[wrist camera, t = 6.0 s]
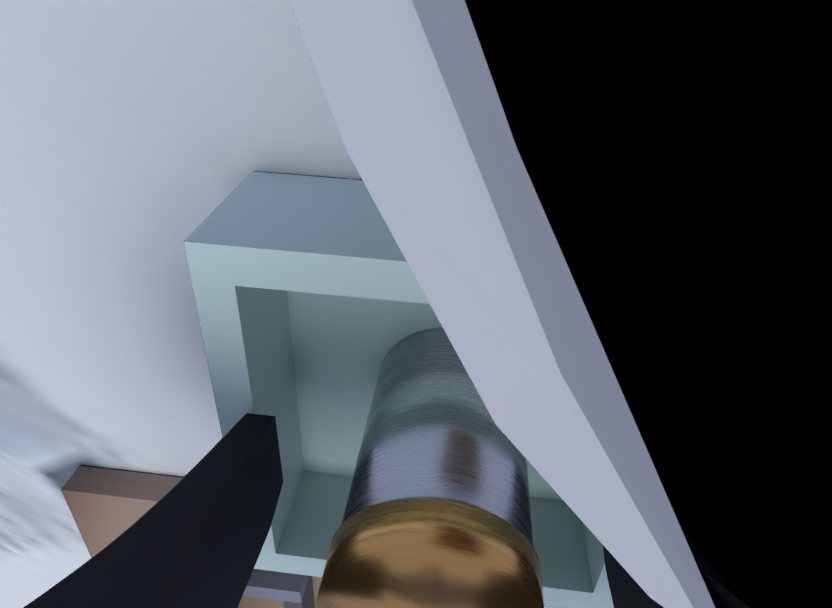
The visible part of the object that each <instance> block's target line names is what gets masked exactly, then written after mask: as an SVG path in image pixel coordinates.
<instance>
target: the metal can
mask: <svg viewBox="0 0 832 608" xmlns="http://www.w3.org/2000/svg"><path fill="white" fill-rule="evenodd" d="M316 608H544V600H543V588H542V576H541V564H540V561H539V557H538V554H537V552H536V550H535V549H534V547H533V536H532V523H531V510H530V496H529V483H528V470H527V459H526V458H525V457H524V456H523V454H522V453H521V452H520V451H519V450H518V449H517V448H516V447H515V446H514V444H513V443H512V442H511V441H510V440H509V439H508V438H507V437H506V435H505V434H504V433H503V432H502V431H501V430H500V429H499V428H498V426H497V425H496V424H495V422H494V421H493V419H492V417H491V415H490V413H489V411H488V410H487V408H486V406H485V404H484V402H483V400H482V399H481V397H480V395H479V393H478V391H477V389H476V388H475V386H474V384H473V382H472V380H471V378H470V377H469V375H468V373H467V371H466V369H465V367H464V366H463V364H462V362H461V360H460V358H459V356H458V355H457V353H456V351H455V349H454V347H453V345H452V344H451V342H450V340H449V338H448V336H447V334H446V333H445V331H444V329H443V327H439V328H431V329H425V330H422V331H418V332H415V333H413V334H411V335H409V336H407V337H405V338H403V339H402V340H400V341H399V342H398V343H396V344H395V345H394V346H393V347H392V348H391V349H390V350H389V351H388V353H387V354H386V356H385V357H384V359H383V361H382V364H381V367H380V371H379V374H378V379H377V383H376V387H375V391H374V395H373V399H372V403H371V407H370V411H369V415H368V419H367V423H366V427H365V431H364V435H363V439H362V443H361V447H360V451H359V455H358V459H357V463H356V467H355V471H354V475H353V479H352V483H351V487H350V491H349V495H348V499H347V503H346V507H345V511H344V515H343V519H342V523H341V526H340V527H339V528H338V529H337V531H336V532H335V534H334V536H333V538H332V541H331V545H330V548H329V552H328V556H327V560H326V564H325V568H324V572H323V576H322V579H321V583H320V587H319V591H318V595H317V599H316Z"/></svg>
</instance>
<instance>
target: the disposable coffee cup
mask: <svg viewBox="0 0 832 608" xmlns="http://www.w3.org/2000/svg"><path fill="white" fill-rule="evenodd" d="M287 1H288V3H289V6H290V9H291V11H292V14H293V16H294V19H295V22H296V24H297V27H298V29H299V32H300V34H301V37H302V40H303V42H304V45H305V47H306V50H307V52H308V55H309V58H310V60H311V63H312V65H313V68H314V70H315V73H316V76H317V78H318V81H319V83H320V86H321V89H322V91H323V94H324V96H325V99H326V101H327V104H328V107H329V109H330V112H331V114H332V117H333V119H334V122H335V125H336V127H337V130H338V132H339V135H340V137H341V140H342V143H343V145H344V147H345V149H346V151H347V153H348V154H349V156H350V158H351V160H352V162H353V164H354V166H355V167H356V169H357V171H358V173H359V175H360V177H361V178H362V180H363V182H364V184H365V186H366V188H367V189H368V191H369V193H370V195H371V197H372V199H373V200H374V202H375V204H376V206H377V208H378V210H379V211H380V213H381V215H382V217H383V219H384V221H385V222H386V224H387V226H388V228H389V230H390V232H391V233H392V235H393V237H394V239H395V241H396V243H397V244H398V246H399V248H400V250H401V252H402V254H403V255H404V257H405V259H406V261H407V263H408V265H409V266H410V268H411V270H412V272H413V274H414V276H415V277H416V279H417V281H418V283H419V285H420V287H421V288H422V290H423V292H424V294H425V296H426V298H427V299H428V301H429V303H430V305H431V307H432V309H433V311H434V312H435V314H436V316H437V318H438V320H439V322H440V323H441V325H442V327H443V329H444V331H445V333H446V334H447V336H448V338H449V340H450V342H451V344H452V345H453V347H454V349H455V351H456V353H457V355H458V356H459V358H460V360H461V362H462V364H463V366H464V367H465V369H466V371H467V373H468V375H469V377H470V378H471V380H472V382H473V384H474V386H475V388H476V389H477V391H478V393H479V395H480V397H481V399H482V400H483V402H484V404H485V406H486V408H487V410H488V411H489V413H490V415H491V417H492V419H493V421H494V422H495V424H496V425H497V426H498V428H499V429H500V430H501V431H502V432H503V433H504V434H505V435H506V437H507V438H508V439H509V440H510V441H511V442H512V443H513V444H514V446H515V447H516V448H517V449H518V450H519V451H520V452H521V453H522V454H523V456H524V457H525V458H526V459H527V460H528V461H529V462H530V463H531V465H532V466H533V467H534V468H535V469H536V470H537V471H538V472H539V474H540V475H541V476H542V477H543V478H544V479H545V480H546V481H547V483H548V484H549V485H550V486H551V487H552V488H553V489H554V490H555V492H556V493H557V494H558V495H559V496H560V497H561V498H562V499H563V501H564V502H565V503H566V504H567V505H568V506H569V507H570V508H571V509H572V511H573V512H574V513H575V514H576V515H577V516H578V517H579V518H580V520H581V521H582V522H583V523H584V524H585V525H586V526H587V527H588V529H589V530H590V531H591V532H592V533H593V534H594V535H595V536H596V538H597V539H598V540H599V541H600V542H601V543H602V544H603V545H604V547H605V548H606V549H607V550H608V551H609V552H610V553H611V554H612V556H613V557H614V558H615V559H616V560H617V561H618V562H619V563H620V564H621V566H622V567H623V568H624V569H625V570H626V571H627V572H628V573H629V575H630V576H631V577H632V578H633V579H634V580H635V581H636V582H637V584H638V585H639V586H640V587H641V588H642V589H643V590H644V591H645V593H646V594H647V595H648V596H649V597H650V598H651V599H653V600H654V601H656V602H657V603H658V604H660V605H661V606H662V607H664V608H832V0H287Z"/></svg>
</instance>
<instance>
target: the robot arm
mask: <svg viewBox="0 0 832 608" xmlns="http://www.w3.org/2000/svg"><path fill="white" fill-rule="evenodd" d="M282 485H283V474H282V466H281V458H280V450H279V442H278V434H277V426H276V418H275V416H269V415H260V414H251V413H247V414H245V415H244V416H243V417H242V418H241V419H240V420H239V421H238V422H237V423H236V424H235V425H234V426H233V427H232V428H231V429H230V431H229V432H228V433H227V434H226V435H225V436H224V437H223V438H222V439H221V440H220V441H219V442H218V443H217V444H216V445H215V446H214V447H213V448H212V449H211V451H210V452H209V453H208V454H207V455H206V456H205V457H204V458H203V459H202V460H201V461H200V462H199V463H198V464H197V465H196V466H195V467H194V468H193V469H192V470H191V471H190V472H189V473H188V474H187V475H186V476H185V477H184V478H183V479H181V480H180V481H179V482H178V483H177V484H176V485H175V486H174V487H173V488H172V489H171V490H170V491H169V492H168V493H167V494H166V495H165V496H164V497H163V498H162V499H160V500H159V501H158V502H157V503H156V504H155V505H154V506H153V507H152V508H150V509H149V510H148V511H147V512H146V513H145V514H144V515H143V516H142V517H140V518H139V519H138V520H137V521H136V522H135V523H134V524H133V525H131V526H130V527H129V528H128V529H127V530H126V531H124V532H123V533H122V534H121V535H120V536H118V537H117V538H116V539H115V540H114V541H112V542H111V543H110V544H109V545H107V546H106V547H105V548H104V549H103V550H101V551H100V552H99V553H97V554H96V555H95V556H94V557H92V558H91V559H90V560H88V561H87V562H86V563H85V564H83V565H82V566H81V567H79V568H78V569H77V570H75V571H74V572H73V573H71V574H70V575H69V576H67V577H66V578H64V579H63V580H62V581H60V582H59V583H58V584H56V585H55V586H53V587H52V588H51V589H49V590H48V591H47V592H45V593H44V594H42V595H41V596H39V597H38V598H37V599H35V600H34V601H32V602H31V603H29V604H28V605H26V606H25V607H24V608H238V605H239V603H240V601H241V598H242V596H243V593H244V591H245V588H246V586H247V584H248V581H249V579H250V576H251V574H252V572H253V569H254V567H255V564H256V562H257V559H258V557H259V554H260V552H261V550H262V547H263V545H264V542H265V540H266V537H267V535H268V532H269V530H270V527H271V524H272V520H273V517H274V513H275V510H276V507H277V503H278V499H279V496H280V492H281V488H282ZM603 551H604V560H605V569H606V573H607V578H608V583H609V587H610V592H611V597H612V601H613V606H614V608H664V607H662V606H661V605H660V604H658V603H657V602H656V601H654V600H653V599H651V598H650V597H649V596H648V595H647V594H646V593H645V591H644V590H643V589H642V588H641V587H640V586H639V585H638V584H637V582H636V581H635V580H634V579H633V578H632V577H631V576H630V575H629V573H628V572H627V571H626V570H625V569H624V568H623V567H622V566H621V564H620V563H619V562H618V561H617V560H616V559H615V558H614V557H613V556H612V554H611V553H610V552H609V551H608V550H607V549H606V548H605V547H604V545H603Z"/></svg>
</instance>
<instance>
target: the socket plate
mask: <svg viewBox="0 0 832 608" xmlns="http://www.w3.org/2000/svg"><path fill="white" fill-rule="evenodd" d="M181 479H183V478H181V477H173V476H164V475H156V474H147V473H139V472H130V471H121V470H113V469H104V468H96V467H87V466H79V467H78V468H77V470H76V471H75V472H74V474H73V475H72V476H71V478H70V479H69V480H68V481H67V483H66V484H65V485H64V487H63V488H62V489H61V491H62V493H63V495H64V498H65V500H66V502H67V504H68V507H69V509H70V511H71V513H72V515H73V518H74V520H75V522H76V524H77V527H78V529H79V531H80V533H81V535H82V538H83V540H84V542H85V544H86V547H87V549H88V551H89V553H90V556H91V558H92V557H94V556H95V555H96V554H97V553H99V552H100V551H101V550H103V549H104V548H105V547H106V546H107V545H109V544H110V543H111V542H112V541H114V540H115V539H116V538H117V537H118V536H120V535H121V534H122V533H123V532H124V531H126V530H127V529H128V528H129V527H130V526H131V525H133V524H134V523H135V522H136V521H137V520H138V519H139V518H140V517H142V516H143V515H144V514H145V513H146V512H147V511H148V510H149V509H150V508H152V507H153V506H154V505H155V504H156V503H157V502H158V501H159V500H160V499H162V498H163V497H164V496H165V495H166V494H167V493H168V492H169V491H170V490H171V489H172V488H173V487H174V486H175V485H176V484H177V483H178V482H179V481H180V480H181ZM321 579H322V577H316V576H308V575H300V574H292V573H284V572H276V571H268V570H260V569H253V572H252V574H251V576H250V579H249V581H248V584H247V586H246V588H245V591H244V593H243V596H242V598H241V601H240V603H239V605H238V608H316V599H317V595H318V591H319V587H320V583H321Z"/></svg>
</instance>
